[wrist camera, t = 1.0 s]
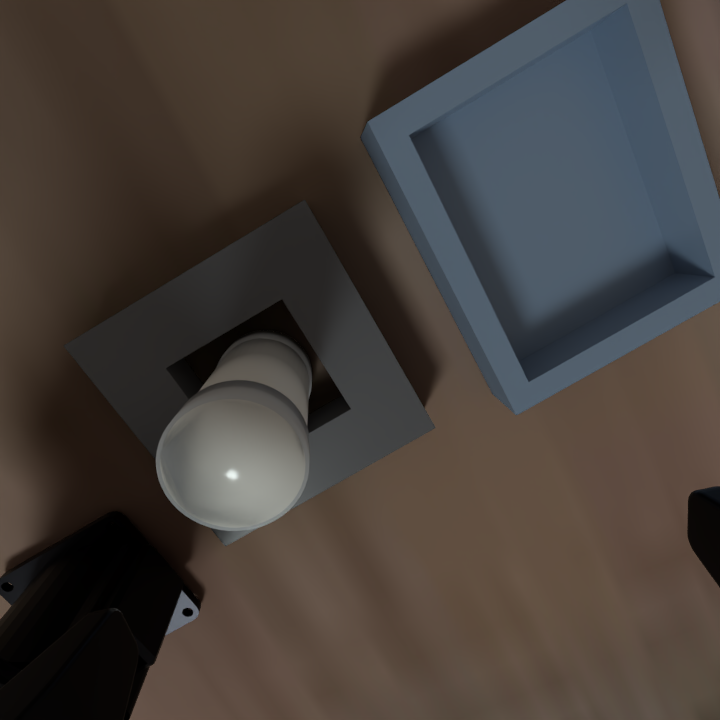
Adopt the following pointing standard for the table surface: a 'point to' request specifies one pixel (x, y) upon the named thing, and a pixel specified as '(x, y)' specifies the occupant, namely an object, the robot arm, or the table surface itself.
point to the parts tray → (558, 194)
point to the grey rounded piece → (242, 437)
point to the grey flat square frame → (234, 306)
